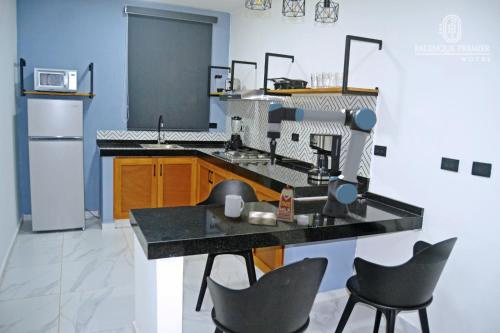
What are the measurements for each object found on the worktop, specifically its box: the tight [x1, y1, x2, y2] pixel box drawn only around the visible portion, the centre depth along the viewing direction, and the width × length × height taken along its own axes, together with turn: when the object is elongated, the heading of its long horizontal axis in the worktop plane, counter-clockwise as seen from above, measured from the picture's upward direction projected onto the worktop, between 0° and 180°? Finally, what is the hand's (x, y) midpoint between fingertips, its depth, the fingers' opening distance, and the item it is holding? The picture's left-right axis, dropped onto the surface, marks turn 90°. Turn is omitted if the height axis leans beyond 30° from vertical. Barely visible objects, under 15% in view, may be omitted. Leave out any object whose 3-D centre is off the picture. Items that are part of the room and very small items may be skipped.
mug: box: [224, 194, 245, 218], centre depth 229 cm, size 9×12×11 cm
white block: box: [296, 214, 310, 226], centre depth 222 cm, size 6×6×4 cm
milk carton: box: [275, 184, 295, 223], centre depth 229 cm, size 9×9×20 cm
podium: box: [248, 211, 277, 226], centre depth 221 cm, size 14×14×3 cm
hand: (271, 169), depth 231 cm, fingers open, 13 cm apart
